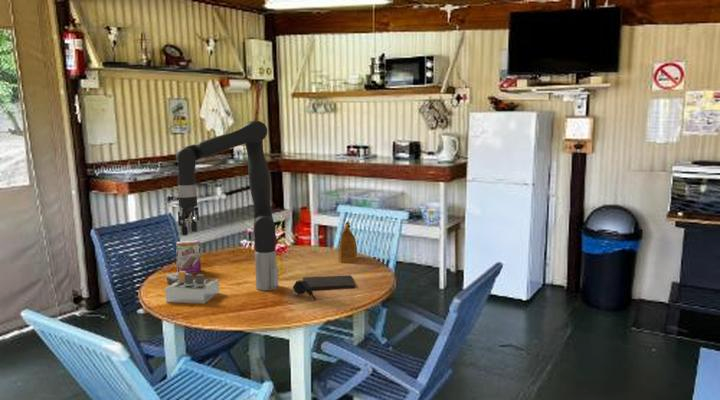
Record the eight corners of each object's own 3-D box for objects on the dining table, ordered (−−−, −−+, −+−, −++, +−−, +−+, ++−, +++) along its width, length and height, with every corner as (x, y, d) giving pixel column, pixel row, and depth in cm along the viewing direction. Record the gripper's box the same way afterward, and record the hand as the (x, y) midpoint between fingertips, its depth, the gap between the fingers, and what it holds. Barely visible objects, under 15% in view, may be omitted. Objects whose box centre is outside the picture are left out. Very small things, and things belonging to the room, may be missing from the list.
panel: (219, 292, 240) (218, 279, 240) (204, 303, 226) (203, 289, 225) (182, 291, 243) (182, 278, 242) (166, 302, 228) (165, 287, 227)
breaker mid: (194, 283, 232) (194, 273, 232) (190, 286, 228) (190, 275, 228) (187, 283, 233) (187, 273, 232) (183, 285, 229) (183, 275, 228)
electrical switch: (174, 279, 249) (164, 271, 255) (173, 289, 250) (164, 281, 256) (192, 275, 255) (183, 268, 261) (192, 285, 257) (182, 277, 263)
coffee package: (357, 260, 295) (356, 220, 292) (357, 266, 283) (356, 224, 280) (338, 260, 295) (338, 220, 292) (338, 266, 283) (337, 225, 280)
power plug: (311, 299, 226) (295, 278, 231) (303, 311, 230) (288, 290, 235) (320, 296, 231) (304, 275, 236) (313, 307, 235) (297, 287, 239)
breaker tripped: (188, 280, 237) (187, 270, 236) (183, 283, 233) (183, 273, 232) (181, 280, 237) (180, 270, 237) (176, 282, 233) (176, 272, 233)
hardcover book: (302, 282, 257) (302, 277, 257) (351, 279, 260) (351, 275, 260) (303, 292, 242) (303, 287, 241) (355, 289, 245) (354, 284, 244)
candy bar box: (177, 276, 268) (176, 243, 265) (177, 273, 272) (175, 241, 270) (201, 273, 272) (199, 241, 269) (200, 271, 276) (198, 239, 274)
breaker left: (206, 283, 231) (205, 273, 231) (201, 286, 228) (201, 276, 227) (198, 283, 232) (198, 273, 231) (194, 286, 228) (194, 276, 227)
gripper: (188, 197, 221) (190, 237, 223) (203, 193, 235) (205, 230, 237) (170, 197, 222) (173, 236, 224) (187, 193, 236) (189, 230, 238)
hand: (189, 233), depth 231 cm, fingers open, 8 cm apart
